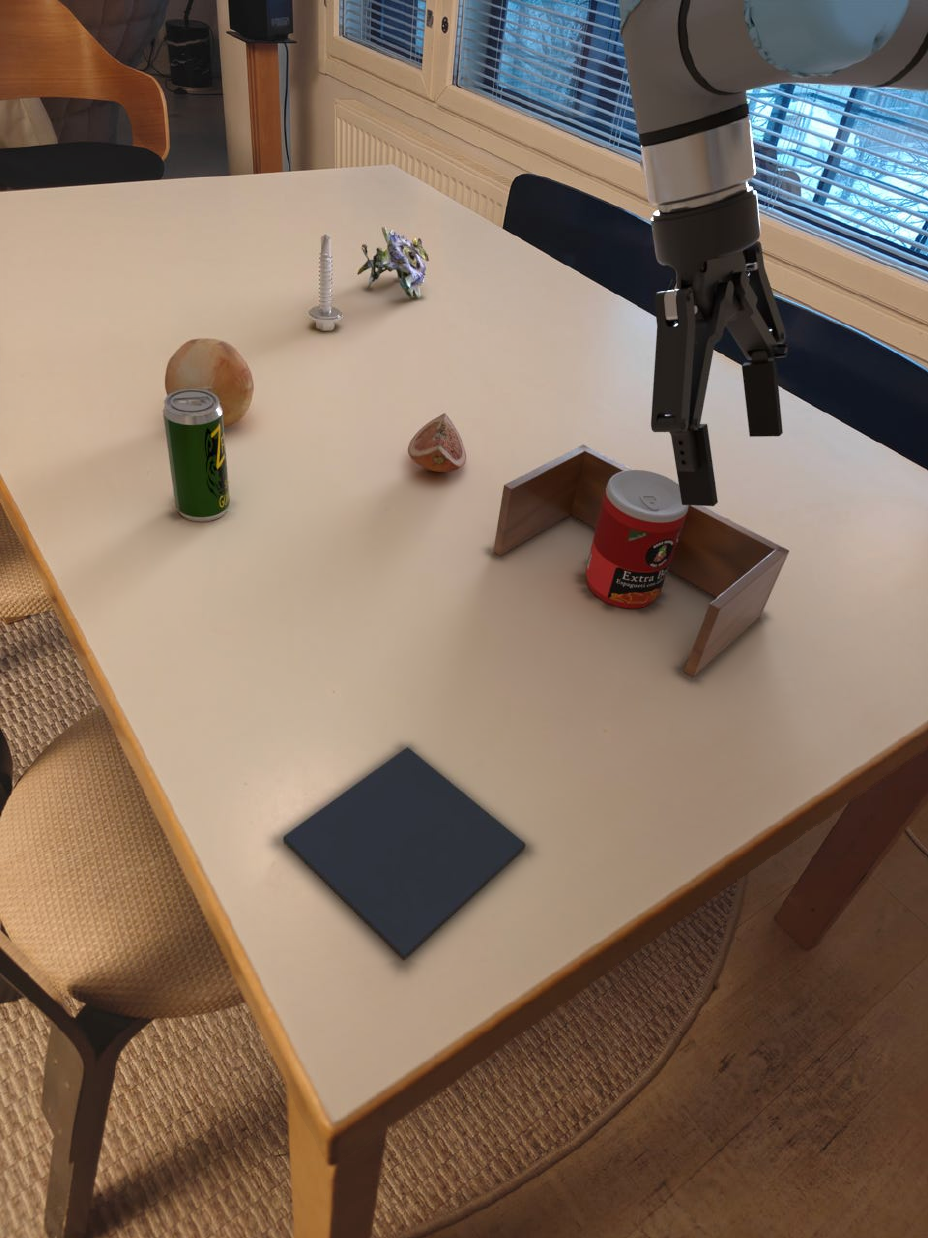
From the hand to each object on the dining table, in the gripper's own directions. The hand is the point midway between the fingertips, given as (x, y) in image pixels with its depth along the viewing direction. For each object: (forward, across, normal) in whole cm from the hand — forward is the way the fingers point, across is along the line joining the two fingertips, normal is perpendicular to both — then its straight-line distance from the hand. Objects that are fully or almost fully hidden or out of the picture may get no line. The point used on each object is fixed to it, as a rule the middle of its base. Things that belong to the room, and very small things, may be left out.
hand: (734, 467), depth 72 cm
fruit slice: (+2, -3, -38) cm, 38 cm away
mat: (+11, +38, -9) cm, 41 cm away
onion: (-9, +9, -59) cm, 61 cm away
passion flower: (-11, -40, -74) cm, 84 cm away
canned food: (+13, +1, -13) cm, 18 cm away
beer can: (-4, +21, -47) cm, 52 cm away
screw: (-11, -22, -70) cm, 74 cm away
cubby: (+12, +1, -13) cm, 18 cm away
